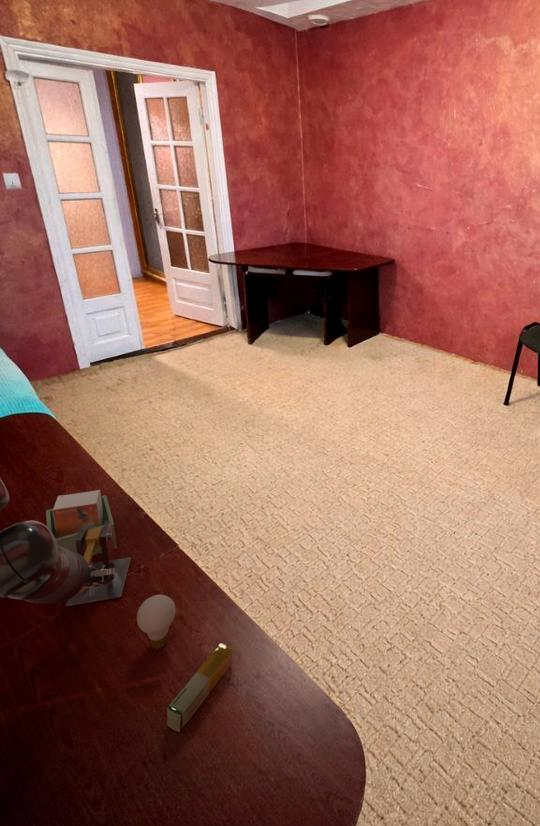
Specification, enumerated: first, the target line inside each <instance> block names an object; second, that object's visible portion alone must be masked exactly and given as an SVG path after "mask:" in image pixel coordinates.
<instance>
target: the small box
mask: <svg viewBox="0 0 540 826" xmlns="http://www.w3.org/2000/svg"><path fill="white" fill-rule="evenodd" d="M101 492H102V491H101V489H96V490H92V491H85V492H77V493H70V494H61V495H58V496H57V498H56V500H55V503H54V506H53V508H52V509H53V516H54V522H55V529H56V536H57V538H60V537H64V536H67V535H71V534H74V533H78V532H79V530H80V527H81V525H87V527H88V529H92V528H95V527H99V526H103V525H104V517H103V509H102V501H101V496H102V494H101Z"/></svg>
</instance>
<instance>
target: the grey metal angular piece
mask: <svg viewBox="0 0 540 826" xmlns="http://www.w3.org/2000/svg"><path fill="white" fill-rule="evenodd" d="M87 533H88V527H87V525H81V527H80V530H79V532H78V534H77V537H76V539H75V544H76V550H77V553H79V554H80V555H82V556H83V557H84V554H85V552H86V549H87V547H86V541H85V539H86V536H87ZM100 542H101V549H102V553H101V556H102V561H97V562H93V558H92V559H91V562H90V564H89V566H93V567H95V568H96V570H101V569H102V566H104V565H107V564H109V563H115V570H114V580H112V581H111V582H109V583H106V584H105V585H103V584H99V586H98V587H91V588H87V589H86V590H85V591H83V592H81V593H77V594H76V595H75V596H73V597H72V598H71V599H69V600H67V601H66V604H65V609H70V608H76V607H82V606H87V605H94V604H100V603H106V602H110V601H111V602H112V601H117V600H122V597H123V594H124V589H125V585H126V581H127V577H128V575H129V570H130V567H131V563H132V557H124V558H116V551H115V549H114V543H113V532H112V527H111V522H105V524H104V527H103V530H102V532H101V535H100Z"/></svg>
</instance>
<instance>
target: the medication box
mask: <svg viewBox="0 0 540 826" xmlns="http://www.w3.org/2000/svg"><path fill="white" fill-rule="evenodd" d="M233 652H234V650H233V647H230V645H227V644H225V643H222V642H220V643H219V644H218V646H217V647H215V649H214V650H213V651H212V652H211V653H210V655H209V656H208V658H207V659H206V660H205V661H204V662H203V664H202V665H201V666H200V667H199V668H198V670H197V671H196V672H195V673H194V674H193V675H192V677H191V678H190V679H189V681H188V682H187V683H186V684H185V685H184V686H183V688H182V689H181V690H180V692H178V694H177V695H176V696H175V697H174V699H173V700H172V701H171V703H170V704H169V705H168V706H167V707H166V726H167V727H168V728H169V729H170V730H172V731H174V732H176V733H181V731H182V730H183V729H184V727H185V726H186V724H187V723H188V722H189V721H190V720H191V718H192V717H193V715H195V713H196V712H197V710H198V709H199V708H200V706H201V705H202V704H203V702H204V701H205V700H206V698H207V697H208V696H209V694H210V693H211V692H212V691H213V689H214V688H215V687H216V685H217V684H218V683H219V682H220V680H221V679H222V677H223V676H224V675H225V674H226V673H227V671H228V669H229V668H230V667H231V666H232V663H233V662H232V661H233Z"/></svg>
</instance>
